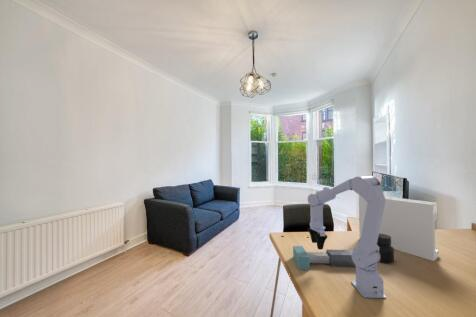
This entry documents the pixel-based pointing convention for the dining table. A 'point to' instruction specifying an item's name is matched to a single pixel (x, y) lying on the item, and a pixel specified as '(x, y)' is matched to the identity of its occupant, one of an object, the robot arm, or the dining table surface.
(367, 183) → the robot arm
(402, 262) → the dining table surface
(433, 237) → the block
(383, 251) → the ink bottle
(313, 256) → the grey square bar
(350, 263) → the dark grey rectangular bar
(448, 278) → the dining table surface
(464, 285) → the dining table surface
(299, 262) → the socket block
